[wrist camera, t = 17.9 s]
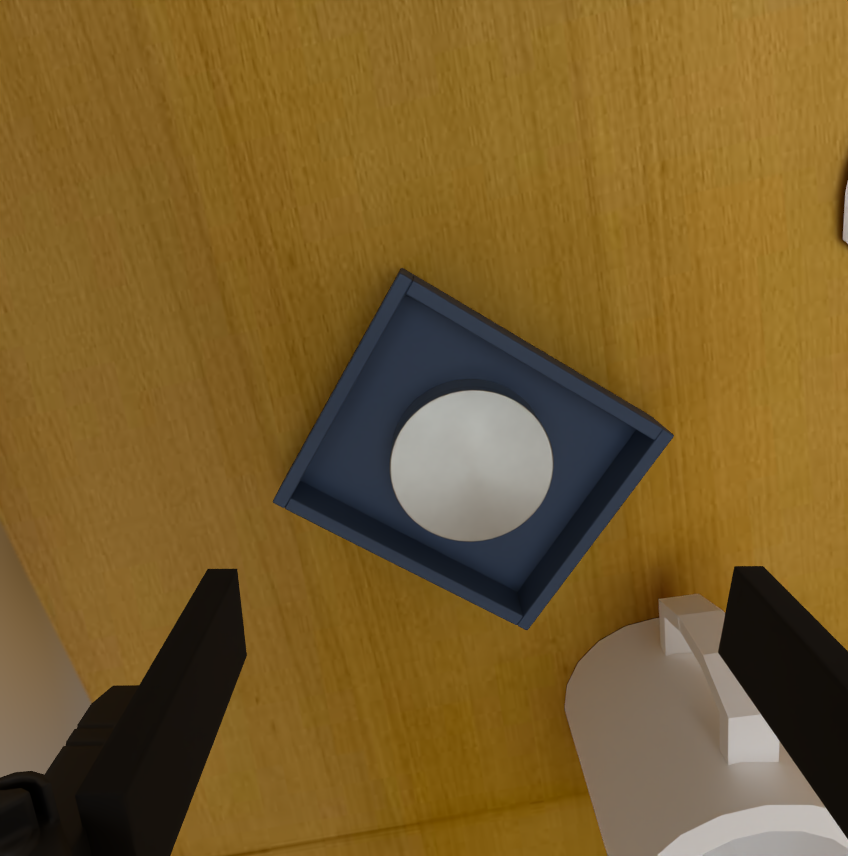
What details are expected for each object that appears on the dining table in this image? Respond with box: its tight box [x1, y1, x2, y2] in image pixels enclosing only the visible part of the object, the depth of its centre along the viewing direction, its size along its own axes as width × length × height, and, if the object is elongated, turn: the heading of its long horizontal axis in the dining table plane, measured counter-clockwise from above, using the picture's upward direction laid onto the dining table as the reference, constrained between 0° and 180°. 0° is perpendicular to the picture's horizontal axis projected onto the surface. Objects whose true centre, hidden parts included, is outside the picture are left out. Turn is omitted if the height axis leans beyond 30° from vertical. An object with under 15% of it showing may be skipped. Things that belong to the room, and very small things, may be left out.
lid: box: [390, 379, 554, 542], centre depth 27 cm, size 7×7×2 cm
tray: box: [273, 268, 674, 630], centre depth 27 cm, size 13×11×3 cm
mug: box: [565, 594, 848, 856], centre depth 28 cm, size 14×10×11 cm
